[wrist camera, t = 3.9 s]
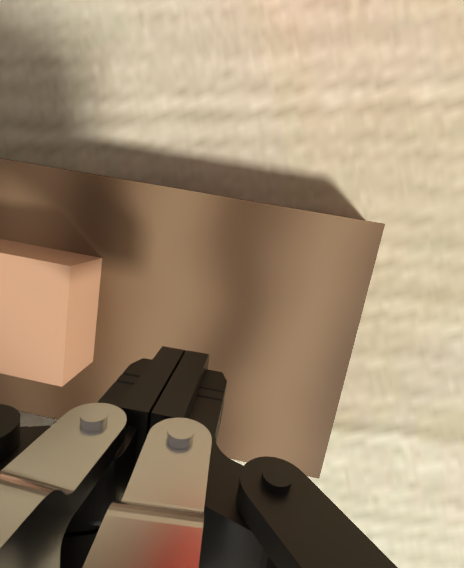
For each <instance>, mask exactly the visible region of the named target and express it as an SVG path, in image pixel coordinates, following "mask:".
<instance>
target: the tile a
mask: <svg viewBox="0 0 464 568" xmlns="http://www.w3.org/2000/svg"><path fill="white" fill-rule="evenodd" d="M101 266H102V258H99V257H94V256H89V255H83V254H78V253H73V252H67V251H62V250H57V249H52V248H46V247H41V246H36V245H30V244H25V243H20V242H14V241H9V240H4V239H0V373H1V374H6V375H10V376H15V377H19V378H24V379H29V380H33V381H38V382H42V383H47V384H52V385H56V386H61V387H62V386H64V385H65V384H66V383H67V382H68V381H70V380H71V379H72V378H73V377H75V376H76V375H77V374H78V373H79V372H81V371H82V370H83V369H84V368H85V367H87V366H88V365H89V364H90V363H92V362H93V355H94V344H95V333H96V322H97V311H98V300H99V289H100V277H101Z"/></svg>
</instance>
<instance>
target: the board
mask: <svg viewBox="0 0 464 568" xmlns="http://www.w3.org/2000/svg"><path fill="white" fill-rule="evenodd" d="M384 225H385V224H382V223H376V222H371V221H365V220H359V219H353V218H347V217H341V216H335V215H330V214H324V213H318V212H312V211H306V210H300V209H294V208H289V207H283V206H277V205H271V204H265V203H259V202H253V201H248V200H242V199H236V198H230V197H224V196H218V195H212V194H206V193H201V192H195V191H189V190H183V189H177V188H171V187H165V186H160V185H154V184H148V183H142V182H136V181H130V180H124V179H119V178H113V177H107V176H101V175H95V174H89V173H83V172H77V171H72V170H66V169H60V168H54V167H48V166H42V165H36V164H31V163H25V162H19V161H13V160H7V159H1V158H0V239H4V240H9V241H14V242H20V243H25V244H30V245H36V246H41V247H46V248H52V249H57V250H62V251H67V252H73V253H78V254H83V255H89V256H94V257H99V258H102V266H101V277H100V289H99V300H98V311H97V322H96V333H95V344H94V355H93V362H92V363H90V364H89V365H88V366H87V367H85V368H84V369H83V370H82V371H81V372H79V373H78V374H77V375H76V376H75V377H73V378H72V379H71V380H70V381H68V382H67V383H66V384H65V385H64V386H62V387H61V386H56V385H52V384H47V383H42V382H38V381H33V380H29V379H24V378H19V377H15V376H10V375H6V374H1V373H0V404H4V405H9V406H11V407H14V408H15V409H17V410H18V411H22V412H27V413H31V414H35V415H40V416H44V417H49V418H53V419H58V420H59V419H60V418H61V417H62V416H63V415H64V414H66V413H67V412H68V411H70V410H71V409H73V408H75V407H78V406H81V405H84V404H89V403H97V402H98V401H99V400H100V398H101V397H102V396H103V395H104V394H105V393H106V392H107V390H108V389H109V388H110V387H111V386H112V385H113V383H114V382H116V381H117V379H118V378H119V377H120V375H121V374H123V372H124V371H125V370H126V369H127V367H128V366H129V365H130V364H132V363H134V362H136V361H138V360H140V359H142V358H145V359H151V360H152V359H153V358H154V357H155V355H156V354H157V353H158V351H159V350H160V349H161V347H162V346H165V347H171V348H177V349H183V350H189V351H194V352H200V353H206V354H209V364H208V370H213V371H219V372H222V373H223V375H224V376H225V378H226V380H227V385H226V392H225V398H224V404H223V411H222V417H221V424H220V429H219V434H218V438H217V446H218V447H219V449H220V450H221V452H222V453H223V454H224V455H226V456H227V457H228V458H230V459H235V460H239V461H244V462H249V461H250V460H252V459H254V458H258V457H264V456H269V457H276V458H280V459H283V460H286V461H288V462H290V463H292V464H293V465H295V466H296V467H298V468H299V469H300V470H301V471H302V472H303V473H304V474H305V475H306V476H310V477H314V478H319V476H320V473H321V469H322V465H323V461H324V457H325V453H326V449H327V446H328V442H329V438H330V434H331V430H332V426H333V422H334V419H335V415H336V411H337V407H338V403H339V399H340V395H341V391H342V388H343V384H344V380H345V376H346V372H347V368H348V364H349V361H350V357H351V353H352V349H353V345H354V341H355V337H356V334H357V330H358V326H359V322H360V318H361V314H362V310H363V307H364V303H365V299H366V295H367V291H368V287H369V283H370V279H371V276H372V272H373V268H374V264H375V260H376V256H377V252H378V249H379V245H380V241H381V237H382V233H383V229H384Z"/></svg>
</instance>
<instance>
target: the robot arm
mask: <svg viewBox="0 0 464 568" xmlns="http://www.w3.org/2000/svg"><path fill="white" fill-rule="evenodd" d="M208 364H209V354H206V353H200V352H194V351H189V350H183V349H177V348H171V347H165V346H162V347H161V349H160V350H159V351H158V353H157V354H156V355H155V357H154V358H153V359H152V360H151V359H145V358H142V359H140V360H138V361H136V362H134V363H132V364H130V365H129V366H128V367H127V369H126V370H125V371H124V372H123V374H121V375H120V377H119V378H118V379H117V381H116V382H114V383H113V385H112V386H111V387H110V388H109V389H108V390H107V392H106V393H105V394H104V395H103V396H102V397H101V398H100V400H99V401H98V402H97V403H89V404H84V405H81V406H78V407H75V408H73V409H71V410H70V411H68V412H67V413H66V414H64V415H63V416H62V417H61V418H60V419H59V420H58V421H56V422H55V423H54V424H53V425H52V426H35V427H20V413H19V411H18V410H17V409H15V408H14V407H11V406H9V405H4V404H0V568H397V567H396V566H395V565H394V564H393V563H392V562H391V561H390V560H389V559H388V558H387V557H386V556H385V555H384V554H383V553H382V552H381V551H380V550H379V549H378V548H377V546H376V545H375V544H374V543H373V542H372V541H371V540H370V539H369V538H368V537H367V536H366V535H365V534H364V533H363V532H362V531H361V530H360V529H359V528H358V527H357V526H356V525H355V524H354V523H353V522H352V521H351V520H350V519H349V518H348V517H347V516H346V515H345V514H344V513H343V512H342V511H341V510H340V509H339V508H338V507H337V506H336V505H335V504H334V503H333V502H332V501H331V500H330V499H329V498H328V497H327V496H326V495H325V494H324V493H323V492H322V491H321V490H320V489H319V488H318V487H317V486H316V485H315V484H314V483H313V482H312V481H311V480H310V479H309V478H308V477H307V476H306V475H305V474H304V473H303V472H302V471H301V470H300V469H299V468H298V467H296V466H295V465H293V464H292V463H290V462H288V461H286V460H283V459H280V458H276V457H269V456H264V457H258V458H254V459H252V460H250V461H249V462H247V463H246V464H245V465H244V466H243V465H241V464H239V463H236V462H235V461H233V460H231V459H230V458H228V457H227V456H226V455H224V454H223V453H222V452H221V450H220V449H219V447H218V446H217V438H218V434H219V429H220V424H221V417H222V411H223V404H224V398H225V392H226V385H227V380H226V378H225V376H224V375H223V373H222V372H219V371H213V370H208Z"/></svg>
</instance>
